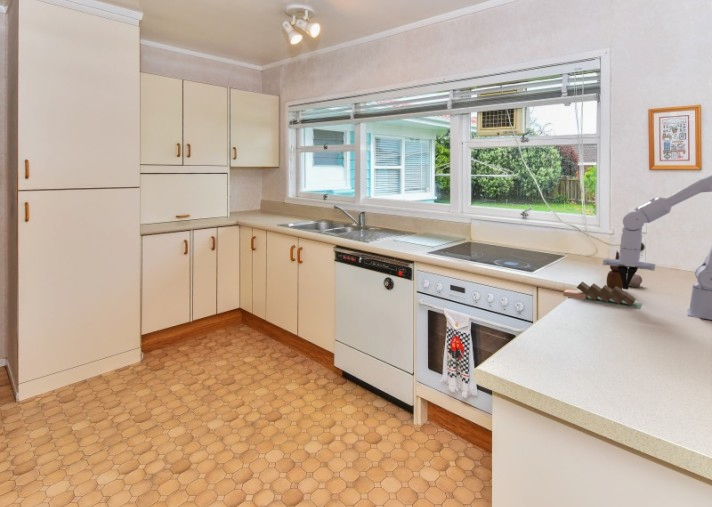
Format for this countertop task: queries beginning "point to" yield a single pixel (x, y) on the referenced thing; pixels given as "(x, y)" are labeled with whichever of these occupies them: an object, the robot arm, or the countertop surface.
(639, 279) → the garlic bulb
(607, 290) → the domino
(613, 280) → the wooden figurine
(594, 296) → the domino
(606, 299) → the domino
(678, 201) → the robot arm
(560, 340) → the countertop surface
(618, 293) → the domino
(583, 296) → the domino end
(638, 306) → the mat
